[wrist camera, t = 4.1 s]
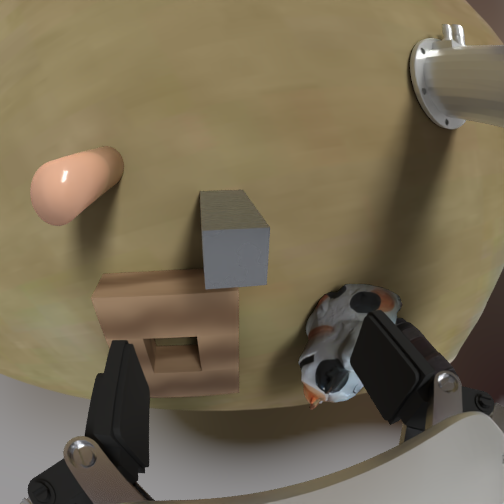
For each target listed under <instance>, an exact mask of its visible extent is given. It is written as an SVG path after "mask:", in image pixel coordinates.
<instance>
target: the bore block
mask: <svg viewBox="0 0 504 504" xmlns="http://www.w3.org/2000/svg"><path fill="white" fill-rule="evenodd" d="M91 299H92V303H93V306H94V309H95V311H96V314H97V317H98V320H99V323H100V325H101V328H102V331H103V333H104V336H105V339H106V341H107V344H108V346H109V348H110V346H111V342H112V340H127V341H128V343H129V344H133V345H134V348H135V351H136V354H137V357H138V360H139V362H140V365H141V368H142V370H143V373H144V376H145V378H146V381H147V383H148V386H149V390H150V398H162V397H193V396H208V395H220V394H231V393H239V290H238V287H233V288H219V289H205V278H204V268H201V269H184V270H166V271H148V272H129V273H109V274H103V275H102V277H101V279H100V281H99V283H98V285H97V287H96V289H95V291H94V293H93V295H92V297H91ZM196 336H197V340H198V344H194V345H175V346H156V343H155V339H154V338H178V337H196Z"/></svg>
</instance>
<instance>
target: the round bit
mask: <svg viewBox="0 0 504 504" xmlns="http://www.w3.org/2000/svg"><path fill="white" fill-rule="evenodd" d="M123 171H124V162H123V159H122V156H121V155H120V153H119V152H118V151H117V150H116V149H114V148H112V147H108V146H103V147H99V148H95V149H91V150H87V151H83V152H79V153H76V154H72V155H69V156H66V157H62V158H59V159H56V160H53V161H50V162H47V163H45V164H43V165H42V166H41V167H40V168H39V169H38V170H37V171H36V173H35V175H34V177H33V179H32V183H31V190H30V194H31V201H32V205H33V207H34V209H35V211H36V213H37V214H38V216H39V217H40V218H41V219H42V220H43V221H45V222H46V223H48V224H51V225H55V226H61V225H65V224H67V223H69V222H70V221H72V220H73V219H74V218H75V217H76V216H77V215H79V214H80V213H81V212H82V211H83V210H84V209H85V208H87V207H88V206H89V205H90V204H91V203H93V202H94V201H95V200H96V199H98V198H99V197H100V196H101V195H103V194H104V193H105V192H106V191H108V190H109V189H110V188H111V187H113V186H114V185H115V184H116V183H118V181H119V180H120V179H121V177H122V174H123Z"/></svg>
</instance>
